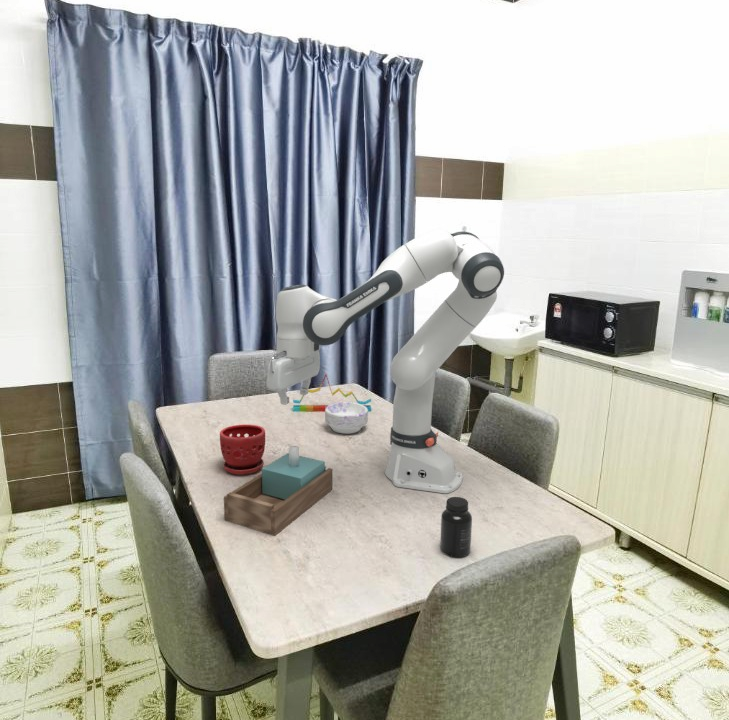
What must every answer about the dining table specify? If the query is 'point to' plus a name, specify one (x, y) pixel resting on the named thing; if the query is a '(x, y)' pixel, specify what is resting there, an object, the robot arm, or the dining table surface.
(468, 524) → the supplement bottle
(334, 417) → the paper bowls
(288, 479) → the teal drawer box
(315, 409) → the chart
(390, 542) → the dining table surface
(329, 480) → the bay
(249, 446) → the plant pot
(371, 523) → the dining table surface
